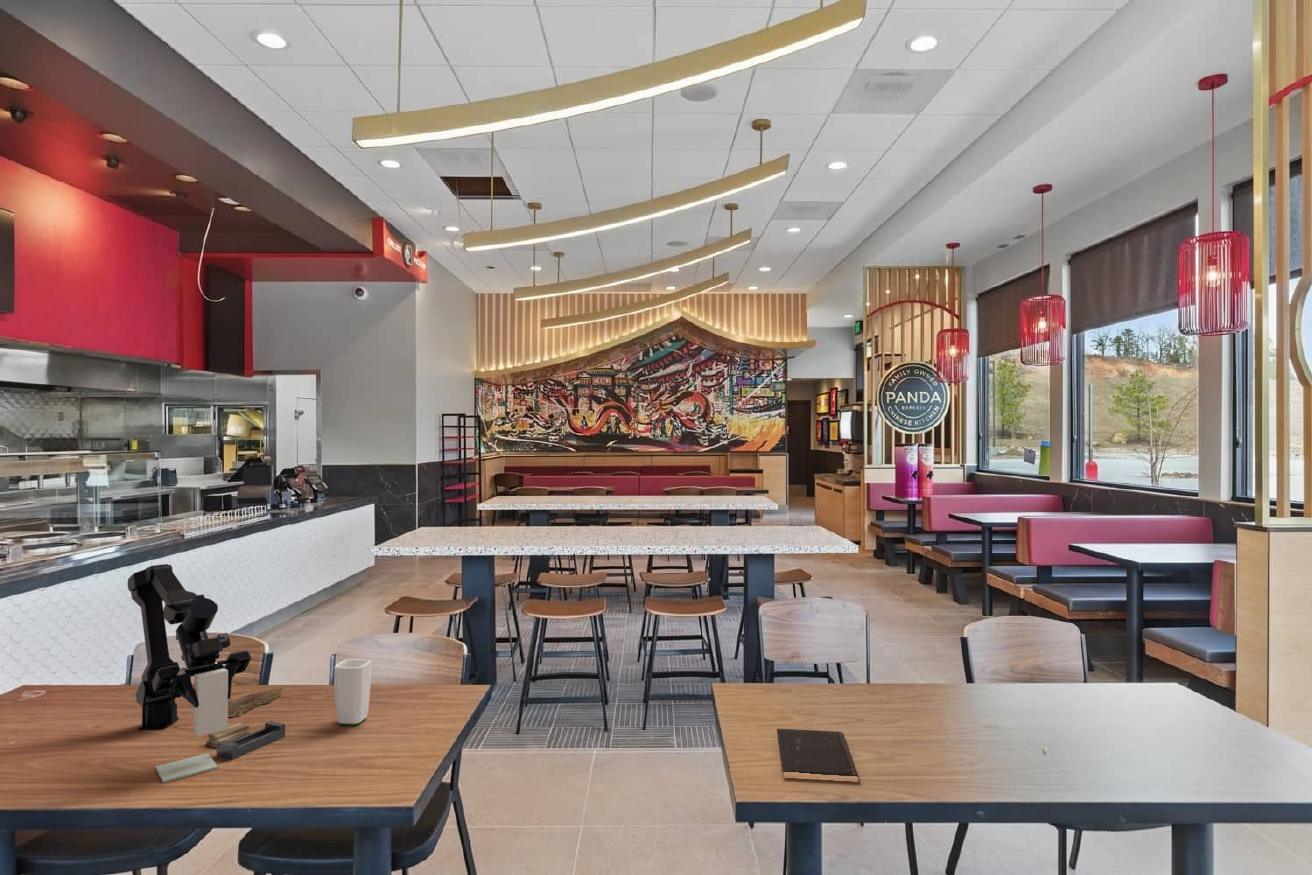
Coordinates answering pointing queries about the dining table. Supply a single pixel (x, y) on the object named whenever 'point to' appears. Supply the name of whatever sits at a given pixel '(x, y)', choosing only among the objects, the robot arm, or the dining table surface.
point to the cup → (352, 690)
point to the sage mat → (186, 767)
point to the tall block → (211, 701)
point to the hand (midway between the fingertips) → (213, 702)
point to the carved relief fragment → (251, 702)
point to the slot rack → (251, 741)
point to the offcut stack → (227, 734)
